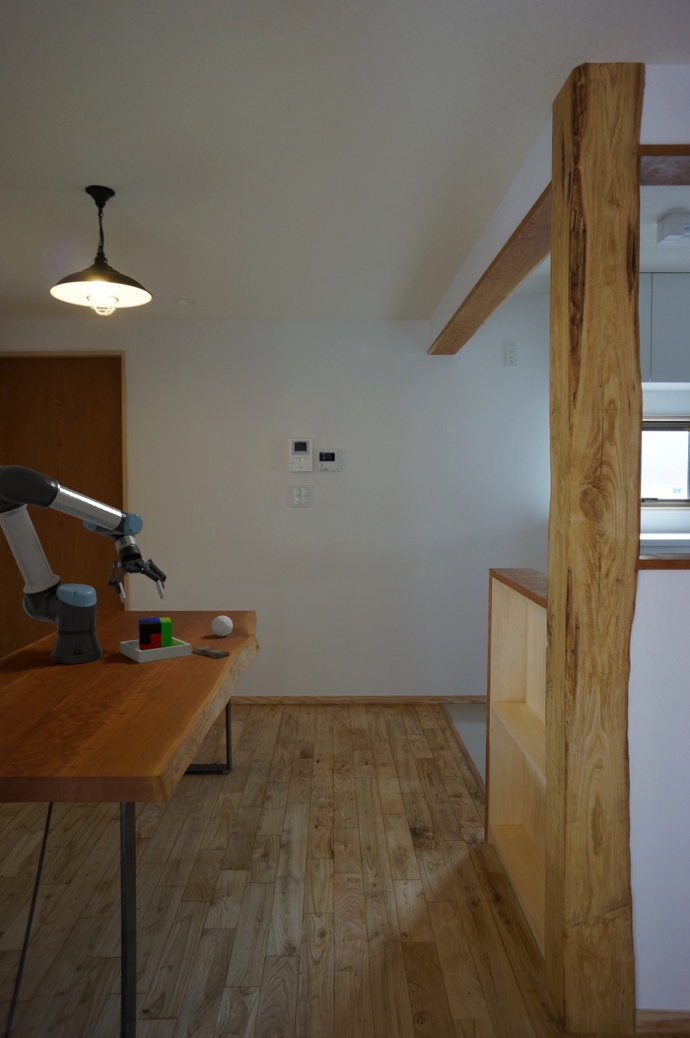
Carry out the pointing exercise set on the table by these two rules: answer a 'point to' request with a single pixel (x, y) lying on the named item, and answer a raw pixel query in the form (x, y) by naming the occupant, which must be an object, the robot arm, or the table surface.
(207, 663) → the table surface
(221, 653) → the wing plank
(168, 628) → the puzzle toy
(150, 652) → the white square tray
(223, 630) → the geometric ball
